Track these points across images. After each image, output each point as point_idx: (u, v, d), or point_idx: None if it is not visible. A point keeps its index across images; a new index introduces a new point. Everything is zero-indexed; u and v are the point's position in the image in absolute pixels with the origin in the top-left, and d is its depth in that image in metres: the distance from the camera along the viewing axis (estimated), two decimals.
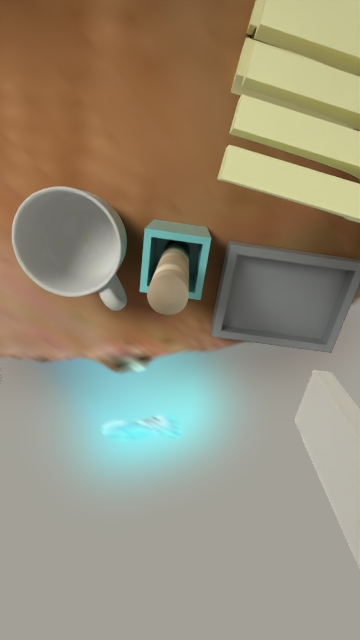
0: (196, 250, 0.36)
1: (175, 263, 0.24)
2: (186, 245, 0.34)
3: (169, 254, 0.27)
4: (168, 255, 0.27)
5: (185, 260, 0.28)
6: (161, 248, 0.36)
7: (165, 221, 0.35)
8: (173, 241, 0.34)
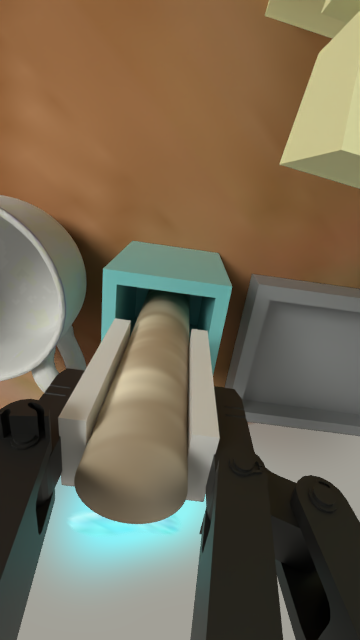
0: None
1: (158, 362, 0.11)
2: None
3: (150, 322, 0.14)
4: (148, 326, 0.13)
5: (182, 333, 0.14)
6: None
7: (150, 244, 0.21)
8: None
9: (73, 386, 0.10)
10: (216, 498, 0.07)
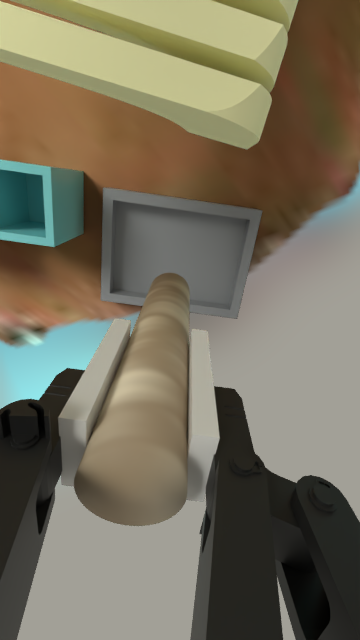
0: None
1: (158, 363, 0.11)
2: (185, 285, 0.21)
3: (150, 323, 0.14)
4: (147, 327, 0.13)
5: (182, 334, 0.14)
6: (33, 196, 0.31)
7: None
8: (163, 280, 0.20)
9: (73, 386, 0.10)
10: (216, 498, 0.07)
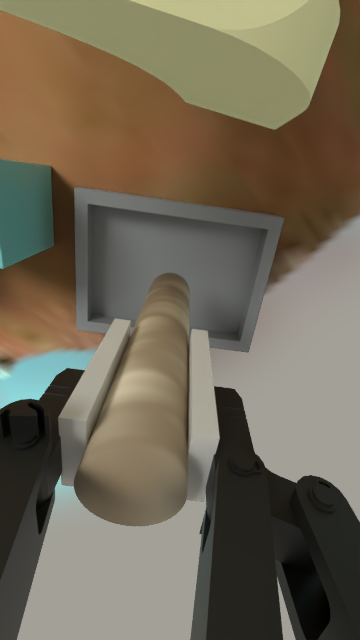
0: None
1: (158, 363, 0.11)
2: (185, 285, 0.21)
3: (150, 323, 0.14)
4: (147, 327, 0.13)
5: (182, 335, 0.14)
6: None
7: None
8: (163, 280, 0.20)
9: (73, 386, 0.10)
10: (216, 498, 0.07)
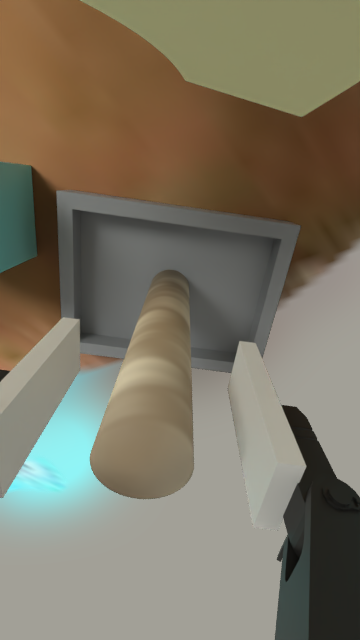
0: None
1: (163, 352, 0.11)
2: (184, 282, 0.21)
3: (153, 316, 0.14)
4: (151, 319, 0.14)
5: (184, 327, 0.15)
6: None
7: None
8: (163, 276, 0.21)
9: None
10: (310, 527, 0.06)
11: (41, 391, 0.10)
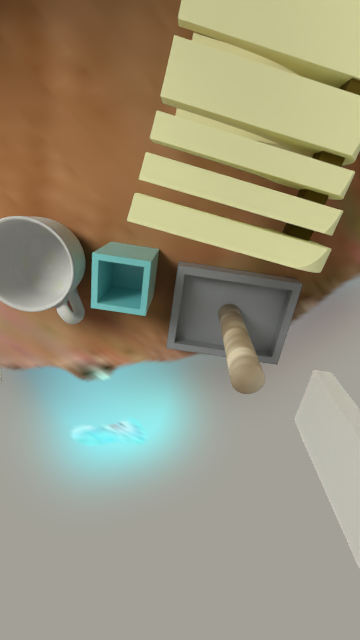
0: None
1: (246, 345, 0.29)
2: (239, 311, 0.40)
3: (235, 330, 0.33)
4: (235, 332, 0.32)
5: (248, 335, 0.33)
6: (118, 267, 0.40)
7: (121, 243, 0.39)
8: (228, 308, 0.39)
9: None
10: None
11: None
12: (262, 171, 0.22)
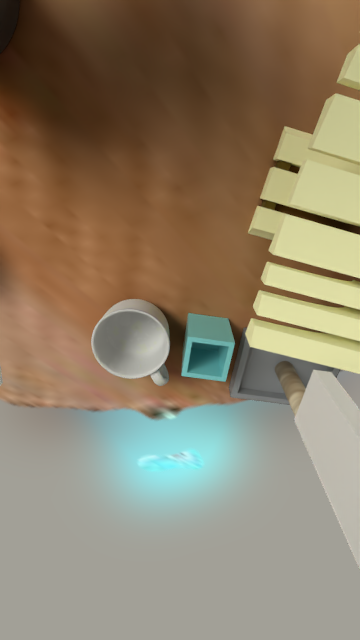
0: None
1: None
2: None
3: (301, 395, 0.41)
4: (301, 397, 0.40)
5: None
6: None
7: (197, 315, 0.46)
8: (286, 367, 0.47)
9: None
10: None
11: None
12: (345, 305, 0.30)
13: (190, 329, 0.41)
